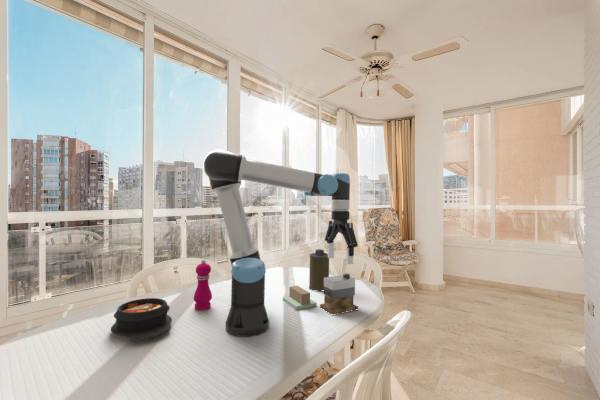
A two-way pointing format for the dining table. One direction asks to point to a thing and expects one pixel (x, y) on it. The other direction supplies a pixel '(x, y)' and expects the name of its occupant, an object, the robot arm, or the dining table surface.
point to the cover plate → (339, 282)
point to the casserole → (142, 318)
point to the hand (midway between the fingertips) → (339, 260)
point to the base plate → (339, 292)
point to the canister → (318, 269)
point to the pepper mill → (203, 287)
